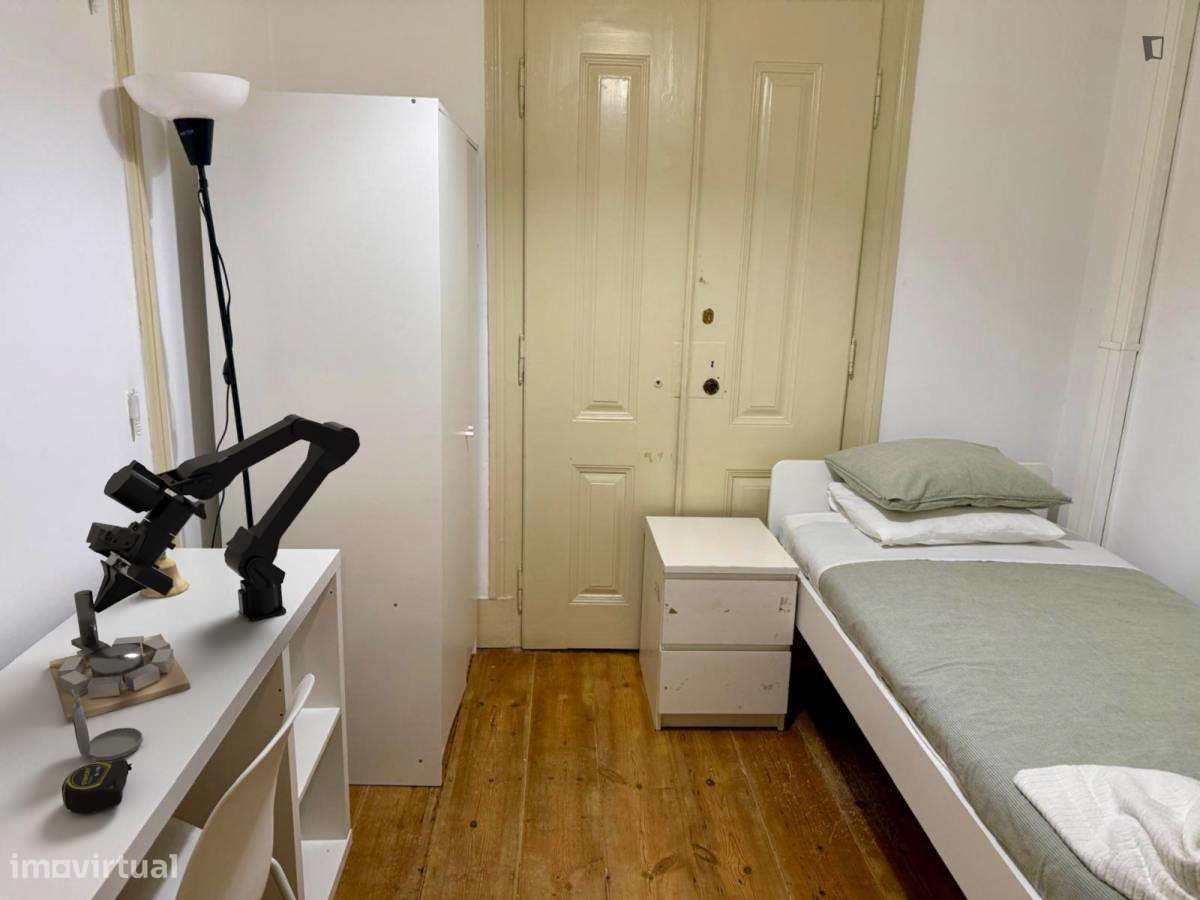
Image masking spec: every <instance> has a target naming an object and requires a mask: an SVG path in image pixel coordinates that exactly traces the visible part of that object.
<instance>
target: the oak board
mask: <svg viewBox="0 0 1200 900" xmlns="http://www.w3.org/2000/svg"><path fill="white" fill-rule="evenodd" d="M154 637H156V638H158V639H161V640H163V641H165V642H167V641H166V639H165V638H164V636H163V635H162V633H159V634H156V635H155V634H154V635H151V636H147V637H144V641H146V640H149V639H151V638H154ZM110 647H112V645H110ZM173 656H174V661H173V663H172V666H171V668H170V670H169V672H168V673H162V674H160V680H158V681H156V682H154V683H151V684H149V685H147V686H145V687H143V688H141V689H139V690H136V691H133V690H131V689H129V688H127V687H126V684H125V682H124V683H123V686H124V688H123V690H122V692H121V694H120V695H118V696H108V697H98V698H89V695H88V692H87V693H85V694H82V695H80V696H79V697H80V699H81V701H80V705H82V707H83V710H84V714H85V718H86V719H87V718H91V717H95V716H97V715H98V716H99V715H102V714H105V713H109V712H111V711H112V712H113V711H115V710H118V709H119V710H120V709H123V708H126V707H129V706H134V705H136V704H140V703H144V702H147V701H150V700H153V699H158V698H162V697H164V696H168V695H171V694H175V693H178V692H179V693H180V692H183V691H185V690H186V691H187V690H189V689H191V684H190V683H191V682H190V680H189V678H188V677H187V675H186V674H185V672H184V671H183V668H182V667H181V665H180V664H179V662H178V660H177V659H176V657H175V655H174V654H173ZM72 657H77V654H73V655H70V656H65V657H62V658H57V659H54V660H49V669H50V671H51V674H52V675H51V676H52V678H53V681H54V684H55V686H56V690H57V693H58V696H59V700H60V702H61V706H62V710H63V712H64V716H65V719H66V722H67V724H70V723H71V724H72V723H73V717H72V706H73V705H75V704H76V703H75V702H74V697H73V695H72V694H70V693H68V692H66V691H64V690H62V689H61V683H60V680H59V674H58V670H59V669H60V668H61V666H62V665H63V663H64V662H65V660H66V659H67V658H72ZM143 660H144V666H145V665H148V664H151V662H152V660H153V658H151V657H149V656H147V655H145V654H143ZM82 674H83V675H85V676H87V677H89V678H90V680H91V679H92V672H91V665H90V666H88V667H85V669H84V670H83V672H82Z"/></svg>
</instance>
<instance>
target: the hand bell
mask: <svg viewBox="0 0 1200 900" xmlns="http://www.w3.org/2000/svg"><path fill="white" fill-rule="evenodd" d="M148 521H149V520H148ZM149 522H150V521H149ZM167 556H168V555H167V550H166V551H165V552H164V553H163V555H162V556H161V557H160V559H159V560H158V561H157V563H156V564H157V565H158V566H160V568H159V569H158V570H160V571H161V572H163V573H165V574H166V575H168V576H169V577H171V578H172V579H173V585H174V587H173V588H172V589H171V591H170V592H169V593H168V595H167V596H164V595H162V594H160V593H158V592H156V591H154V590H152V589H151V588H149V587H148V588H147V589H146V590H145V589H143V590H141V591H140V595H141V596H143V597H145V598H148V599H165V598H171V597H175V596H177V595H180V594H182V593H184V592H186V591H187V590H188V589H189V587H190V583H189V582H188V581H187V579H185V578H183V577H182V576H181V574H180V572H179V570H178V567H177V563H176V561H175V560H174V559H172V558H169V557H167Z"/></svg>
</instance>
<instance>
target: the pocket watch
mask: <svg viewBox="0 0 1200 900" xmlns="http://www.w3.org/2000/svg"><path fill="white" fill-rule="evenodd" d="M71 692H72V695H73V697H74V702H75V703H76V704H75V705H73V706H72V717H73V722H72V724H73V728H74V734H75V739H76V744H77V748H78V750H79V751H78V752H79V754H80V755H81V756H86V755H87V756H88V757H89V758H90V759H92V760H95V761H101V762H105V761H109V760H110V761H114V760H117V759H118V758H120V759H121V758H122V757H125V756H127V755H129V754H131V753H133V752H134V751H136V750H137V749H138V748H139V747H140V745H141V744H142V742H143V733H142V732H141V730H139V728H138V729H136V728H134V727H118V728H114V729H110V730H107V731H104V732H102V733H99V734H97V735H96V736H94V737H93V738H92V739H90V734H89V729H88V728H89V727H88V723H87V720H86V719H87V718H85V714H84V710H83V707H82V705H80V701H81V699H80V697H79V695H76V693H75V692H74V690H73V689H71Z"/></svg>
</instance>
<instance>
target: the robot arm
mask: <svg viewBox="0 0 1200 900" xmlns="http://www.w3.org/2000/svg"><path fill="white" fill-rule="evenodd" d="M301 440H302V441H304V442H307V443H308V442H309V445H308V448H307V449H308V451H307V455H306V458H305V460H304V461H303V463H302V464H301V465H300V467H299V468H298V469H297V471H296V472H295V473H294V475H293V476H292V477H291V479H290V480H289V482H288V483H287V484H286V485H285V486H284V488H283V490H282V491H281V492H280V493H279V494H278V496H277V497H276V498H275V500H274V502H273V503H272V504H271V505H270V506H269V508H268V509H267V510H266V511H265V513H264V514H263V516H262V517H261V518H260V520H259V521H258V522H257V523H256V524H255V525H252V526H251V527H249V528H248V529H247V528H245V527H244V526H243V525H240V526H239V527H238V528H237V530H236V532H235V533H234V535H233V537H232V538H231V539H229V541H227V542H226V543H225V545H226V546H227V548H226V549H225V551H224V554H223V556H224V562H225V564H226V566H227V567H228V568H229V569H230V570H231V571H233V572H234V573H235V574H237V576H239V577H240V578H242V579H241V580H239V584H240V585H239V587H240V588H239V589H237V597H238V598H237V599H238V608H239V612H240V613H241V614H242V615H243V616H245V618H246V619H247V620H248V621H249V622H255V621H258V620H261V619H262V620H263V619H266V618H270V617H274V616H279V615H282V614H285V613H287V609H286V608H285V606H284V605H283V603H284V602H283V592H282V584H283V583H284V580H285V578H286V572H285V570H283V569H281V568H280V567H279V566H277V565H276V564H274V562H275V560H276V558H277V556H278V552H279V547H280V543H281V540H282V538H283V536H284V534H285V533H286V532H287V531H288V530H289V528H290V527H291V525H292V524H293V523H294V521H295V520H296V518H297V517H298V516H299V514H300V513H301V512H302V510H304V507H306V505H307V504H308V502H309V501H310V500H311V498H312V497H313V496H314V495H315V493H316V492H317V490H318V489H319V488H320V486H321V485H322V483H323V482H325V479H326V478H327V477H328V475H330V474H331V473H332V472H334V471H336V470H338V469H339V468H342V467H343V466H344V465H346V464H347V462H349V460H350V459H351V458H352V457H354V455H356V453H357V452H358V450H359V449H360V446H361V442H360V436H359V433H358V432H356V430H355V429H354V428H352V427H349V426H347V425H344V424H342V423H339V422H336V421H326V422H325V421H324V422H323V423H321V422H317V421H314V420H310V419H308V418H305V417H304V416H301V415H297V414H295V413H293V414H292V413H291V414H287V415H286V416H285V417H283V418H282V419H280V420H279V421H277V422H275V423H273V424H272V425H270V426H267V427H266V428H263V429H262V430H260V431H259V432H256V433H254V434H252V435H251V436H249V437H247V438H244V439H243V440H241V441H239V442H237V443H236V444H234V445H232V446H230V447H228V448H226V449H223V450H220V451H216V452H211V453H203V454H201V455H199V456H196V457H192V458H189V459H187V460H184V461H183V462H182V463H180V464H179V465H178V466H177V467H175V468H173V469H169V470H167V471H166V470H165V471H163V472H160V473H157V474H156V473H153V472H152V471H150V470H149V469H148V468H147V467H146V466H145V465H144V464H142V463H141V462H139V461H137V460H136V459H133V460H132V461H131V462H130V463H129V464H128V465H125V466H123V467H121V468H120V469H118V470H117V471H115V472H113V474H112V475H111V476H110V477H109V479H108V480H107V482H106V484H105V486H104V489H103V494H104V495H105V496H106V497H107V498H109V499H112V500H113V501H114V502H117V503H118V504H119V505H122V506H123V507H125V508H127V509H129V510H130V511H132V512H133V513H135V514H141V513H143V512H145V513H146V515H145V516H144V517H143V518H142V519H141V521H140V522H138V521H136V520H134V521H131V522H130V523H129V524H128V526H127V527H126V526H119V525H115V524H108V523H103V522H96V521H93V522H91V526H90V527H89V528H90V529H89V531H88V535H87V537H86V540H85V542H86V543H87V544H89V545H88V548H89V549H90V550H91V551H92V552H94V553H96V554H99V555H102V556H103V557H105V558H106V560H102V559H100V560H99V561H100V562H99V563H100V564H101V566H102V571H103V577H102V581H101V583H100V587H99V590H98V591H97V595H96V596H95V597H96V598H95V600H94V608H95V614H100V613H102V612H104V611H105V610H107V609H109V608H111V607H113V606H114V605H116V604H117V603H119V602H121V601H123V600H125V599H127V598H129V597H131V596H132V595H134V594H136V593H138V592H141V590H143V589H145V590H146V589H147V588H148V587H149V588H151V589H152V590H154V591H156V592H158V593H160V594H162V595H164V596H167V595H168V593H169V592H170V591H171V589H172V588H173V587H174V585H173V579H172V578H171V577H169V576H168V575H166V574H165V573H163V572H161V571H160V570H158V569H159V568H160V566H158V565H157V564H156V563H157V561H158V560H159V559H160V557H161V556H162V555H163V553H164V552H165V551H166V552H167V550H168V549H169V550H171V551H173V550H174V549H175V548H176V547H177V544H175V543H173V542H174V540H175V539H176V538H177V536H178V535H179V534H180V533H181V531H182V530H183V529H184V527H185V526H186V525H187V523H188V522H189V520H190V519H191V518H192V517H193V516H195V517H197V518H199V519H201V520H207V513H206V509H205V508H206V505H205V503H204V502H202V501H208V500H210V499H213V498H215V497H216V496H218V495H219V494H220V493H222V492H223V491H224V490H226V488H227V487H229V486H230V485H231V484H232V483H233V481H234V480H235V479H236V478H237V476H239V475H240V474H241V473H243V471H246V470H248V469H250V468H251V467H254V466H255V465H256V464H258V463H260V462H263V461H264V460H265V459H268V458H270V457H271V456H273V455H276V454H277V453H279V452H281V451H282V450H284V449H286V448H288V447H290V446H291V445H293V444H296V442H298V441H301ZM166 490H170V491H171V492H172V493H174V495H173V496H172V495H171V494H170V493H168V492H166ZM186 496H190V497H192V498H194V499H196V501H194V500H193V501H192V500H191V499H189V498H187V497H186ZM197 500H198V501H197ZM149 521H150V522H149Z"/></svg>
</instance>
